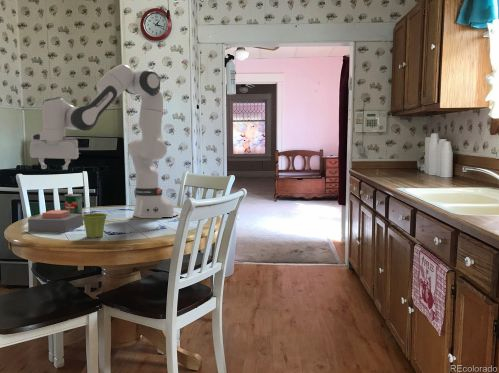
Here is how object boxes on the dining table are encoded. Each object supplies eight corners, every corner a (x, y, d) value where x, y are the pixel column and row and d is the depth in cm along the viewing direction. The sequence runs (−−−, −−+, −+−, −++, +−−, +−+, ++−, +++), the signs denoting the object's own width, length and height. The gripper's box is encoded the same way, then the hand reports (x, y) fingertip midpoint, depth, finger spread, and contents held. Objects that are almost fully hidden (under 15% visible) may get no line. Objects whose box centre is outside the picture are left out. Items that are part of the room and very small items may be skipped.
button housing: (83, 225, 200) (82, 213, 199) (65, 232, 184) (65, 220, 183) (48, 223, 201) (48, 212, 200) (28, 231, 185) (28, 219, 185)
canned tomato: (82, 215, 226) (82, 193, 225) (82, 217, 218) (81, 195, 217) (65, 215, 223) (65, 193, 222) (64, 218, 216) (63, 195, 215)
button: (70, 220, 196) (69, 210, 195) (61, 223, 188) (60, 213, 187) (52, 219, 196) (52, 210, 196) (42, 222, 188) (42, 213, 188)
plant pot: (87, 233, 182) (87, 212, 181) (110, 234, 181) (110, 213, 180) (78, 238, 172) (77, 216, 171) (102, 239, 172) (102, 217, 171)
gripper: (81, 137, 191) (81, 169, 192) (35, 136, 193) (36, 168, 194) (74, 137, 185) (74, 170, 186) (27, 135, 187) (27, 168, 188)
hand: (54, 169), depth 190 cm, fingers open, 8 cm apart
